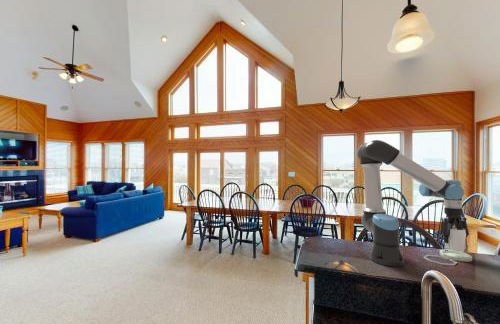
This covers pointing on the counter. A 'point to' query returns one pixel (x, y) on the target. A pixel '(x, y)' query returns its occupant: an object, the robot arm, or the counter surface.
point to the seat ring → (439, 262)
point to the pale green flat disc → (456, 255)
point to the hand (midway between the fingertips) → (455, 248)
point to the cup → (457, 239)
